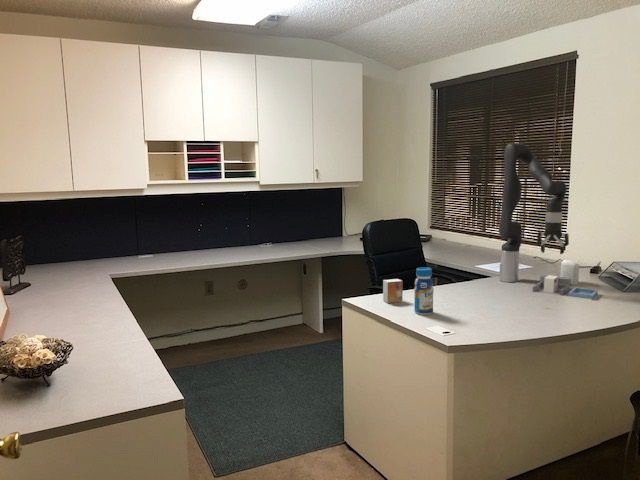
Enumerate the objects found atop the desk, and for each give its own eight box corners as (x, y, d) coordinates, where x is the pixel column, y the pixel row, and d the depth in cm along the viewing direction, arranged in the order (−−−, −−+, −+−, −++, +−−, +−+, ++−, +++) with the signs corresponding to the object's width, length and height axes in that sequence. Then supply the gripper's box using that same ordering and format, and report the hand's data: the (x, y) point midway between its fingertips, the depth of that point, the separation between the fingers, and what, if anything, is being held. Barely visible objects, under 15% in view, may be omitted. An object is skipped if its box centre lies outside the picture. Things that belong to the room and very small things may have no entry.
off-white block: (543, 291, 259) (544, 278, 258) (548, 288, 266) (548, 275, 265) (553, 292, 257) (554, 279, 256) (557, 289, 263) (558, 276, 262)
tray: (568, 297, 250) (568, 292, 250) (574, 291, 260) (574, 287, 260) (592, 300, 244) (592, 295, 243) (597, 294, 254) (598, 290, 253)
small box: (387, 303, 246) (387, 282, 245) (382, 300, 251) (382, 279, 250) (402, 302, 248) (402, 280, 247) (398, 299, 254) (398, 278, 252)
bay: (532, 292, 260) (532, 280, 259) (541, 285, 274) (542, 274, 273) (562, 296, 252) (562, 284, 251) (570, 289, 265) (571, 277, 264)
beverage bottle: (419, 308, 236) (420, 265, 233) (436, 311, 230) (437, 267, 228) (410, 313, 229) (410, 269, 227) (427, 316, 224) (428, 271, 221)
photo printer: (579, 284, 275) (580, 261, 273) (573, 285, 274) (574, 262, 272) (565, 280, 285) (566, 258, 283) (558, 281, 283) (559, 259, 282)
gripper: (536, 221, 257) (535, 253, 260) (567, 222, 249) (565, 255, 251) (540, 219, 263) (539, 251, 266) (570, 221, 255) (569, 253, 257)
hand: (552, 253), depth 258 cm, fingers open, 8 cm apart
